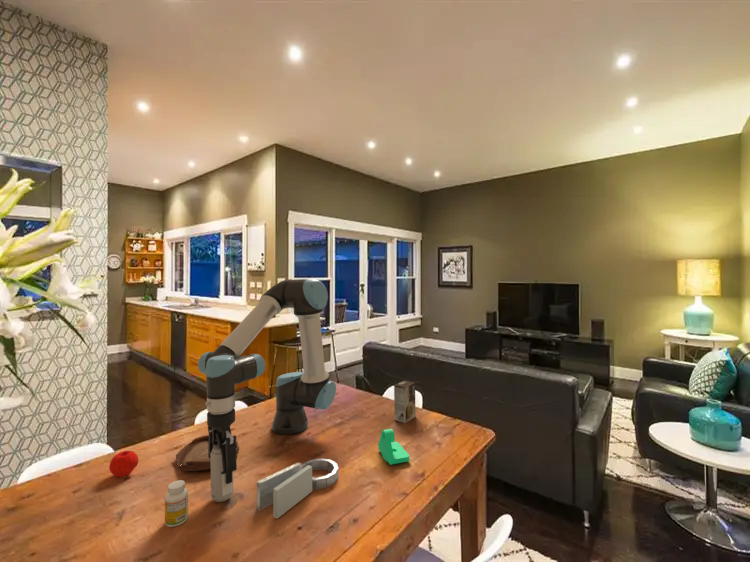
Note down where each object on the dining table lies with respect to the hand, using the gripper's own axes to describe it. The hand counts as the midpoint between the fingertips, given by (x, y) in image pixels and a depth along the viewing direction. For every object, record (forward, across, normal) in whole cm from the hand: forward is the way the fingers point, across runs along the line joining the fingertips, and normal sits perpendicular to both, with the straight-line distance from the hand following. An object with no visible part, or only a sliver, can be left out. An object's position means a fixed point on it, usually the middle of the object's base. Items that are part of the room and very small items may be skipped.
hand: (222, 488), depth 103 cm
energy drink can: (+3, 0, 0) cm, 3 cm away
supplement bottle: (+3, 0, -12) cm, 13 cm away
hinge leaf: (+3, +18, +13) cm, 22 cm away
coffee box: (+4, +3, +83) cm, 83 cm away
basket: (+4, -27, +7) cm, 28 cm away
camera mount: (+4, +22, +52) cm, 57 cm away
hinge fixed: (+3, +12, +18) cm, 22 cm away
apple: (+3, -37, -16) cm, 40 cm away
